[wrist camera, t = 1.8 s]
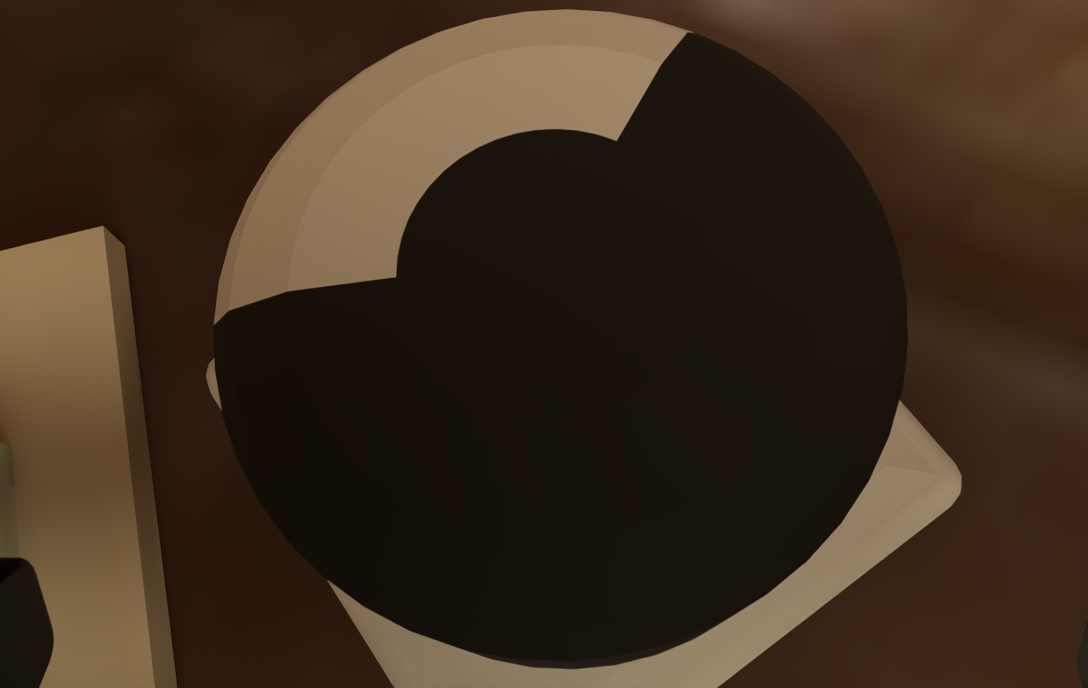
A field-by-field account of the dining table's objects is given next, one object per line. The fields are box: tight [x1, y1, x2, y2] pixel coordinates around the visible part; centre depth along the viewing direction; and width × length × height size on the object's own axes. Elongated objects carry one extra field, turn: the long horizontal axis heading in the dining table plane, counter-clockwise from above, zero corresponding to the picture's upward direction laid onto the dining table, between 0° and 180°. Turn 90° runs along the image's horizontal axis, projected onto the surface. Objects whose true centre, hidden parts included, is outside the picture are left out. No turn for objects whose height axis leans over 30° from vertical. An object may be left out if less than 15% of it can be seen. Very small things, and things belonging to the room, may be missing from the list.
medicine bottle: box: [206, 9, 961, 688], centre depth 14 cm, size 7×7×12 cm
